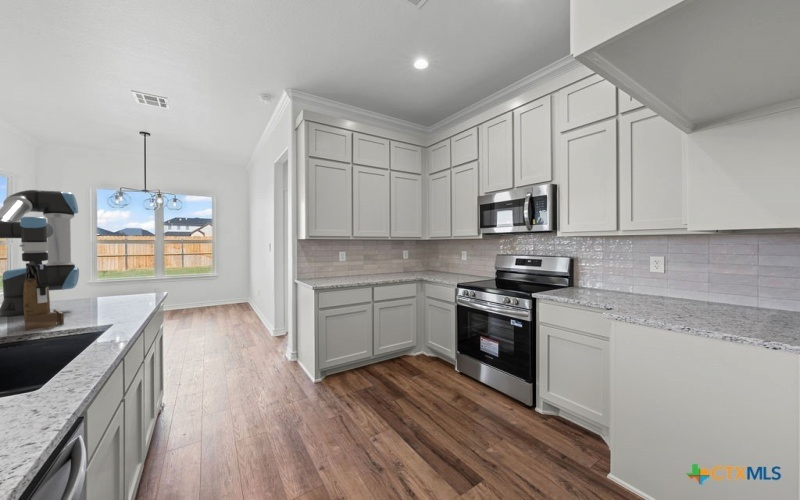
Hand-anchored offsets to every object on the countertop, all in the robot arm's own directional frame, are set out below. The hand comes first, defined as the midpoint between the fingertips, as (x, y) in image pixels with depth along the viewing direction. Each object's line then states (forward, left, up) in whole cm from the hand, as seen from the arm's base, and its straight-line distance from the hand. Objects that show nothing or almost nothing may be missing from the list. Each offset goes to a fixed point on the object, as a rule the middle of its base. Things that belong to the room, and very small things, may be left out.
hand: (37, 301), depth 139 cm
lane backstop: (+6, -1, -11) cm, 13 cm away
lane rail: (-1, +7, -11) cm, 13 cm away
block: (0, 0, -10) cm, 10 cm away
